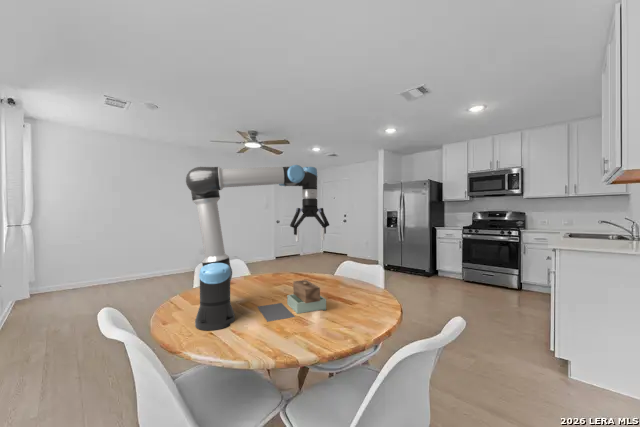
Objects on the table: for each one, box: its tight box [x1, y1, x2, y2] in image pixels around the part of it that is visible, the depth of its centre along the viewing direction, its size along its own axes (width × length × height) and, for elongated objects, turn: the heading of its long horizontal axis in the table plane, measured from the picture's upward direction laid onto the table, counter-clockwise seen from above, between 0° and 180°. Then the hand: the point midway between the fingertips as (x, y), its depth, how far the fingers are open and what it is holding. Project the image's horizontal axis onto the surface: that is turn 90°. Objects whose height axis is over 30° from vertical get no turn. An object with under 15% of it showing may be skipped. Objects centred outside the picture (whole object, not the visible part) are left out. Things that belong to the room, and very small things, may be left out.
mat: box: [256, 302, 296, 323], centre depth 122 cm, size 12×20×1 cm, turn 25°
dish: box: [286, 293, 327, 315], centre depth 129 cm, size 14×14×5 cm
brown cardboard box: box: [292, 279, 321, 303], centre depth 128 cm, size 7×16×7 cm, turn 25°
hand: (310, 240), depth 136 cm, fingers open, 13 cm apart
